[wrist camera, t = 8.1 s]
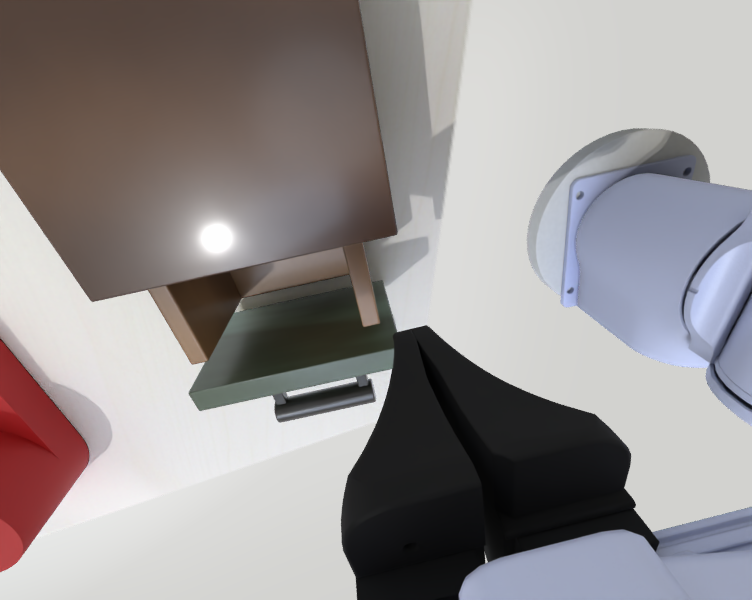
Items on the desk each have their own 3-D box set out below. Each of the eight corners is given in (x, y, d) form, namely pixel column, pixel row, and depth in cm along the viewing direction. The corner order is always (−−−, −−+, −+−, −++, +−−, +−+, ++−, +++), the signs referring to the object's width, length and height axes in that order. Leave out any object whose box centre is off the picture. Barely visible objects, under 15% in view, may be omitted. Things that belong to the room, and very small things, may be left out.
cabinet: (373, 188, 20) (398, 235, 12) (188, 229, 20) (90, 303, 12) (307, -158, 14) (266, -558, 6) (34, -97, 14) (-402, -404, 6)
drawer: (397, 351, 25) (418, 432, 18) (263, 380, 25) (237, 472, 18) (340, 73, 16) (342, 44, 10) (139, 118, 16) (13, 117, 10)
